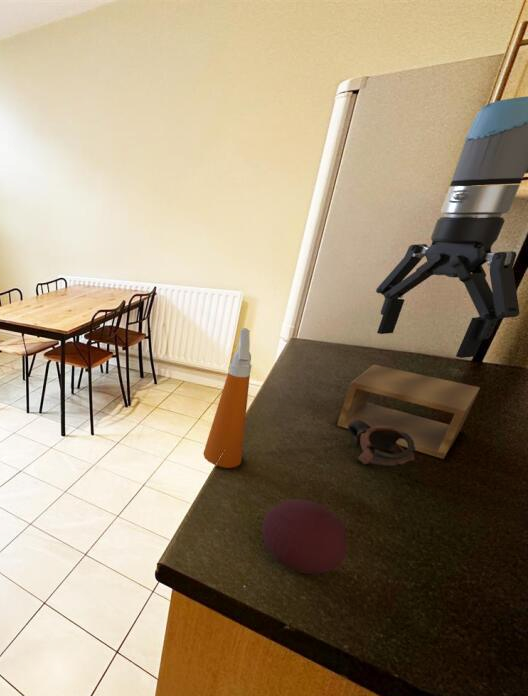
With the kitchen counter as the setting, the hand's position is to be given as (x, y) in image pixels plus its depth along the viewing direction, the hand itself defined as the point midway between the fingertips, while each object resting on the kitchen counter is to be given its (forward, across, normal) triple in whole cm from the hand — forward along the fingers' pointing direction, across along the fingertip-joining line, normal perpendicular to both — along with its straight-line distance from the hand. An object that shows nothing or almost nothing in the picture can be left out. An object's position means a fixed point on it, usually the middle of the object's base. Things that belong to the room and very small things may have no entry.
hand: (421, 344), depth 74 cm
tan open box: (+24, -9, +14) cm, 29 cm away
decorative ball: (+24, +20, -36) cm, 48 cm away
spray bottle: (+24, -8, -29) cm, 39 cm away
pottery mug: (+24, 0, 0) cm, 24 cm away
